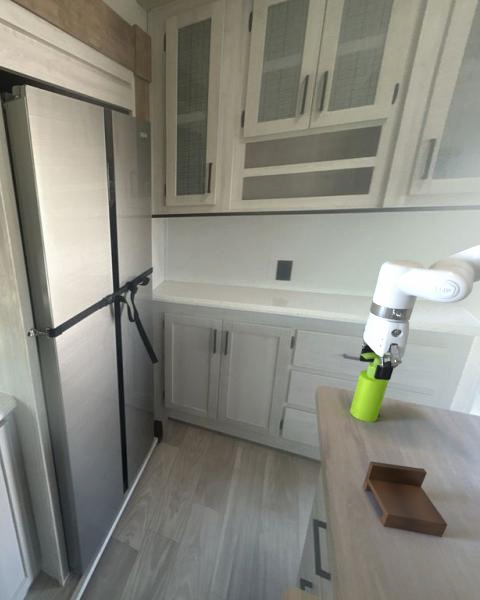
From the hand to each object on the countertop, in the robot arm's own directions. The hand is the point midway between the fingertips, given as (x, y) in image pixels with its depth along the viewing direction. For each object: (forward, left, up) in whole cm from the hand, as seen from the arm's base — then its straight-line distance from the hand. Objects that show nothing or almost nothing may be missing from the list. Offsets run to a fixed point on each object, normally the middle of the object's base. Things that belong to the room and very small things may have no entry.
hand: (373, 369), depth 88 cm
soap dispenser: (0, 0, -15) cm, 15 cm away
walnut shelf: (+5, +31, -15) cm, 35 cm away
